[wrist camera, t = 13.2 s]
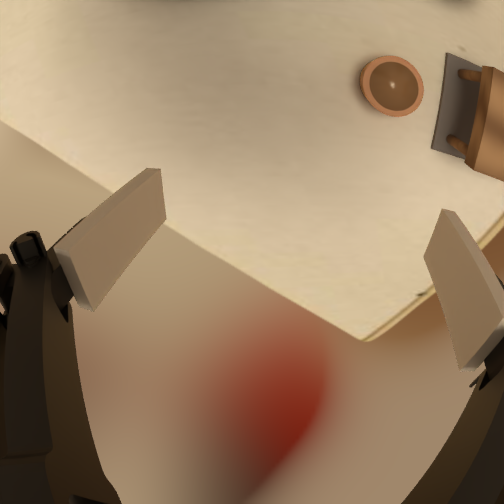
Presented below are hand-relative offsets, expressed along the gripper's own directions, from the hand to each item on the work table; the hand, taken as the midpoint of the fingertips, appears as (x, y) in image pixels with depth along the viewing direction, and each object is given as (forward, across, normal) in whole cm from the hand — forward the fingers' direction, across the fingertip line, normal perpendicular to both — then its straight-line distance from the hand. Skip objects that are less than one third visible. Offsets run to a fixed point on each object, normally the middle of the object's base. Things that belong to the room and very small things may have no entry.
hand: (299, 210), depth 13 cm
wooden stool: (+26, +24, +6) cm, 36 cm away
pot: (+27, +9, +6) cm, 29 cm away
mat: (+27, +24, +6) cm, 36 cm away
